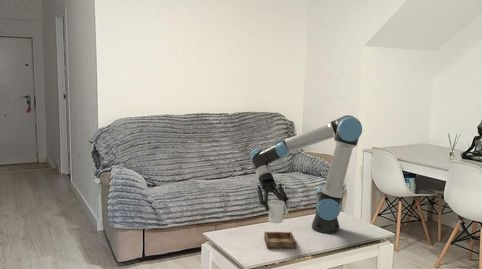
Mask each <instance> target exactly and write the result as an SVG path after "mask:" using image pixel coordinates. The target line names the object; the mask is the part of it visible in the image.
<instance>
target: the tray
mask: <svg viewBox="0 0 482 269" xmlns="http://www.w3.org/2000/svg"><path fill="white" fill-rule="evenodd" d="M263 234H264V235H263V236H264V237H263V240H264V243H265V246H266V249H267V250H296V249H297V240H296V239H295V237H294V235H293V233H292V231H264V233H263Z"/></svg>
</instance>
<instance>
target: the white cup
mask: <svg viewBox="0 0 482 269" xmlns="http://www.w3.org/2000/svg"><path fill="white" fill-rule="evenodd" d="M268 203H269V204H270V207H271V209H272V212H273V216H272V218H270V216H269V215H268V222H269V223H271V224H282V223H283V220H284V201H282V200H279V199H269V200H268ZM268 203H267V204H268Z"/></svg>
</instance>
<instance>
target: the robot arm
mask: <svg viewBox="0 0 482 269" xmlns="http://www.w3.org/2000/svg"><path fill="white" fill-rule="evenodd" d="M362 132H363V125H362V122H361V121H360V120H359V119H358V118H357V117H355V116H353V115H348V114H347V115H343V116H341V117H339V118H337V119H334V120H331V121H329V123H328V124H326V125H322V126H320V127H316V128H315V129H312V130H311V129H310V130H309V131H305V132H303V133H299V134H297V135H293V136H291V137H288V138H285V139H281V140H277V141H275V142H273V144H272V145H271V146H270V147H268V148H267V149H264V150H263V149H262V148H257V149H256V148H255V149H253V150H252V151H251V152H250V159H251V163H252V164H253V167H254V169H255V171H254V172H255V173H256V176H257V178H258V183H259V184H260V185H257V187H256V188H255V189H256V190H255V191H257V196H258V200H259V205H260V206H263V208H265V211H266V212H268V213H267V214H268V217H269V216H270V218H272V216H273V212H272V209H271V207H270V204H269V203H268V201H269V193H272V194H273V195H274V196H275V197H276V198H277V200H282V201H284V213H283V215H284V216H285V217H286V216H288V215H289V210H288V204H287V202H288V201H289V197H288V196H287V194H286V192H285V190H284V188H283V186H282V183H279V184H278V183H276V182H275V178H274V175H273V173H272V170H271V167H270V164H272V163H274V162H276V161H279V160H280V159H282V158H285V157H286V156H288V155H289V153H291V152H294V151H297V150H300V149H303V148H306V147H309V146H312V145H316V144H319V143H321V142H324V141H325V142H326V141H328V140H331V139H334V142H335V147H334V151H333V154H332V159H331V162H330V167H329V168H328V172H327V177H326V180H325V181H326V182H325V185H324V187H318V188H317V190H316V200H315V201H316V203H315V215H314V218H313V220H312V223H311V229H312V230H314V231H315V232H319V233H322V234H323V233H324V234H334V233H338V232H340V228H341V227H340V222H339V220H338V219H339V218H338V217H339V215H340V212H341V205H342V201H343V199H344V198H343V197H344V196H343V193H342V189H343V186H344V183H345V179H346V176H347V172H348V167H349V163H350V161H351V160H350V159H351V157H352V154H353V150H354V148H355V147H357V146H358V142H359V139H360V137H361V136H362ZM263 192H264V193H263Z"/></svg>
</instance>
